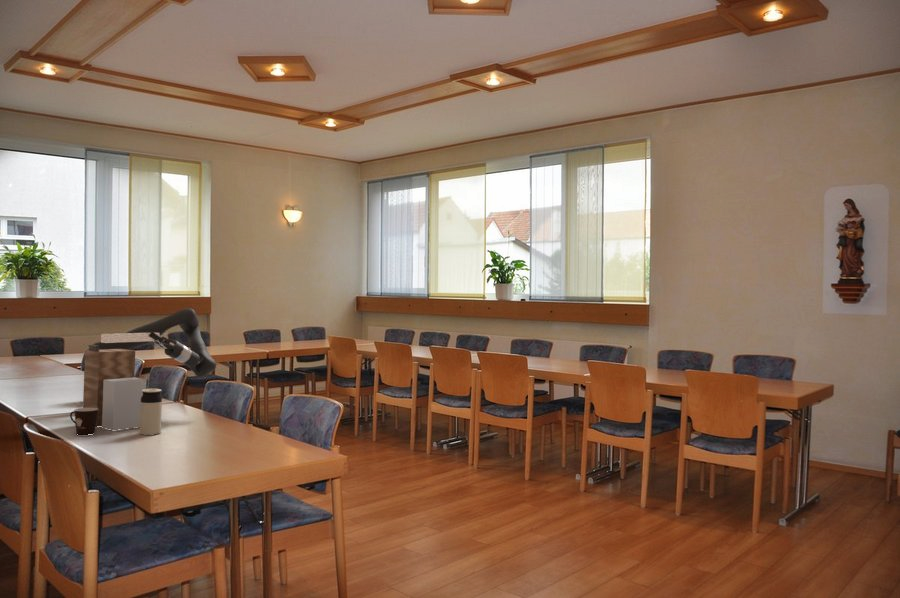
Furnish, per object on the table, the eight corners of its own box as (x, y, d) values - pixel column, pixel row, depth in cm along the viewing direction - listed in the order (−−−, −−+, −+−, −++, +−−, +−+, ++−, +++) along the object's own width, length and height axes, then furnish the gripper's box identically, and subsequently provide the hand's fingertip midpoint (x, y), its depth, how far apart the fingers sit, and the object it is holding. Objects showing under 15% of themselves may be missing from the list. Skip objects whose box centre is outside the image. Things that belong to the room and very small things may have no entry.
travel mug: (152, 436, 278) (154, 391, 278) (135, 434, 280) (136, 390, 280) (164, 432, 286) (166, 389, 286) (147, 431, 287) (149, 388, 287)
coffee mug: (100, 434, 277) (101, 409, 277) (77, 437, 271) (78, 411, 271) (90, 430, 285) (90, 406, 285) (67, 432, 279) (68, 408, 279)
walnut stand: (96, 427, 290) (99, 346, 290) (82, 423, 297) (85, 344, 297) (132, 423, 303) (135, 345, 303) (118, 419, 310) (121, 343, 310)
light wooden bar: (105, 343, 284) (105, 334, 284) (101, 342, 286) (101, 334, 286) (159, 340, 303) (159, 332, 303) (154, 340, 305) (155, 332, 305)
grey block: (112, 431, 284) (114, 381, 284) (101, 428, 290) (103, 379, 290) (144, 426, 296) (146, 379, 296) (133, 424, 301) (135, 377, 301)
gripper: (173, 343, 318) (143, 325, 306) (191, 345, 310) (160, 326, 298) (165, 357, 315) (134, 340, 303) (183, 360, 307) (152, 342, 295)
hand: (147, 333), depth 300 cm, fingers closed on light wooden bar, 3 cm apart
